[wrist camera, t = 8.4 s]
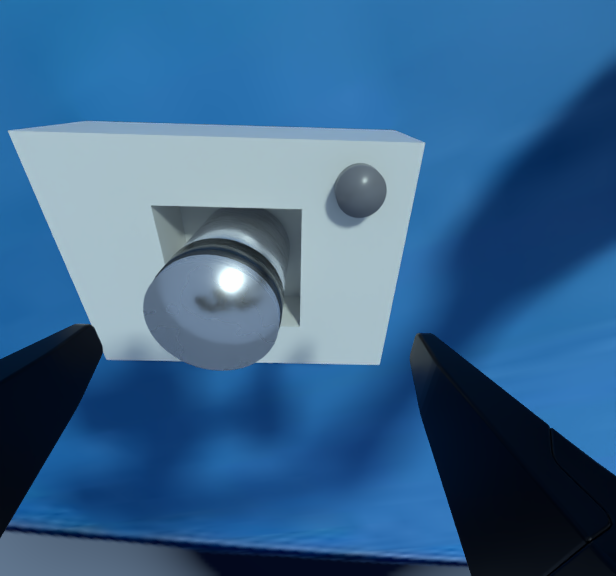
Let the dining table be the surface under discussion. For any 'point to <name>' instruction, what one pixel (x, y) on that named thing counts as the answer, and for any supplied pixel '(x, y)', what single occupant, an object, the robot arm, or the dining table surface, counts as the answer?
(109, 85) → the dining table surface
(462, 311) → the dining table surface
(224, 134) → the camera body
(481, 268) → the dining table surface
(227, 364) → the steel lens
